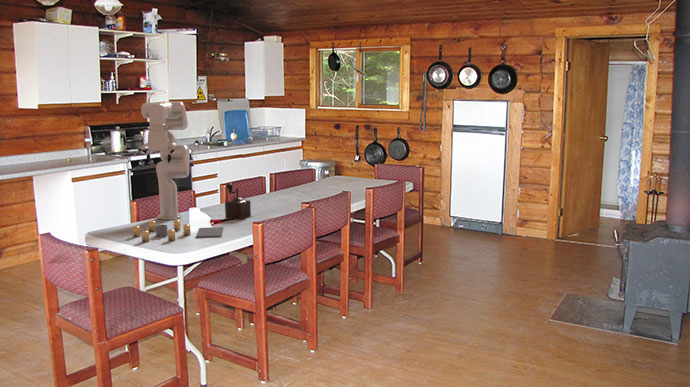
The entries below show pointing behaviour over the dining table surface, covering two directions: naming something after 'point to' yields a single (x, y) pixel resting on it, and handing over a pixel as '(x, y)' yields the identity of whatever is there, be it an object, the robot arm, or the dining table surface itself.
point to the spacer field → (153, 228)
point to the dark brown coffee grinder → (237, 206)
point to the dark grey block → (161, 231)
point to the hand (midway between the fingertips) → (159, 162)
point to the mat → (209, 232)
